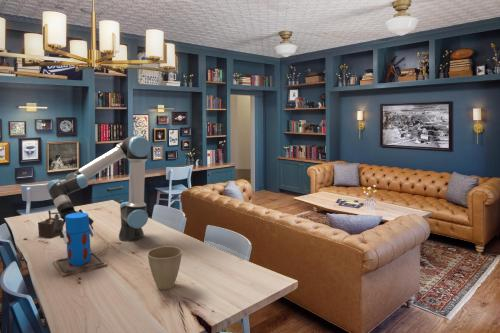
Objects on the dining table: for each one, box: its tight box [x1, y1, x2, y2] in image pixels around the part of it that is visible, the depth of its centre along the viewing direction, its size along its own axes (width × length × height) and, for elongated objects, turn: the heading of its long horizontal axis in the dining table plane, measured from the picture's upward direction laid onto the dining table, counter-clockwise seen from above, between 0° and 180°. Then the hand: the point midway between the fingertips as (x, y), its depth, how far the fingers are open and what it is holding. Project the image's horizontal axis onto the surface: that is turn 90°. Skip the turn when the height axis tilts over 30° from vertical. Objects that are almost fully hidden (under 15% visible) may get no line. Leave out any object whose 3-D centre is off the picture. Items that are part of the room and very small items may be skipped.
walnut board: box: [52, 251, 108, 278], centre depth 192 cm, size 21×21×2 cm
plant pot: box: [147, 245, 182, 290], centre depth 166 cm, size 15×15×16 cm
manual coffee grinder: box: [37, 209, 64, 239], centre depth 242 cm, size 16×11×18 cm
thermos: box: [64, 212, 92, 266], centre depth 190 cm, size 11×11×25 cm
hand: (80, 239), depth 188 cm, fingers open, 13 cm apart
